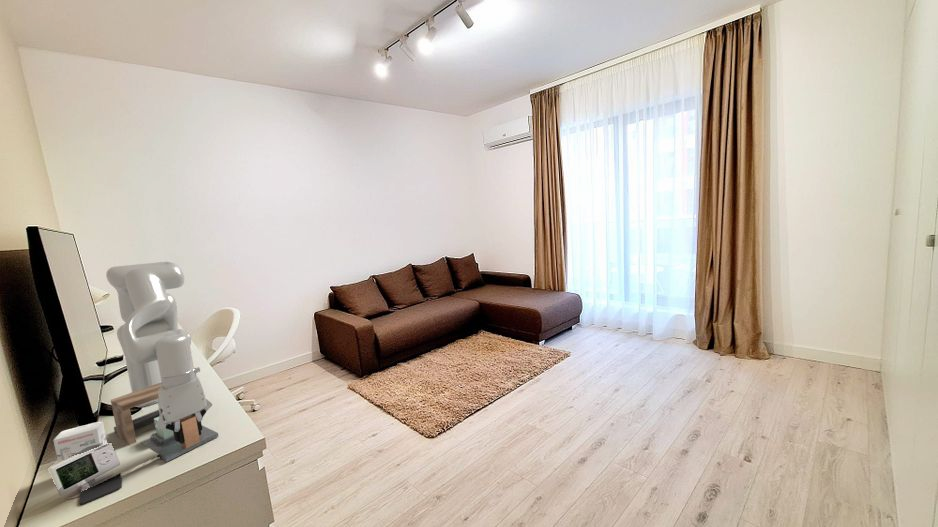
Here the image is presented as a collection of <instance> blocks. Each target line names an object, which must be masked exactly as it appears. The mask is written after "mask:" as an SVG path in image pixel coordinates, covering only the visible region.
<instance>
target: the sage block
mask: <svg viewBox="0 0 938 527" xmlns="http://www.w3.org/2000/svg"><path fill="white" fill-rule="evenodd" d="M159 417H160V416H159ZM159 417H157V418H154V422H153V424H154V427H155V426H156V424H157V422H158V419H159ZM164 423H165V424H167V422H166V420H165V422H164ZM168 424H171V423H168ZM154 429H155V433H156V434H157V436H159V437H160V438H162V439H167V438H169V437H171V436H173V435H174V433H173V431H172V430H169V429H157V428H156V427H155V428H154Z"/></svg>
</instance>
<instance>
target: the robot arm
mask: <svg viewBox="0 0 938 527" xmlns="http://www.w3.org/2000/svg"><path fill="white" fill-rule="evenodd" d="M105 276H106V280H107V281H108V283H109V285H111V286H112V287H113V288H114V289H115V290H116V293H117V296H118V305H119V306H118V307H119V313H120V316H121V320H122V321H124V324H123V325H121V326H119V327H118V329H116V330H117V331H116V336H117V339H118V342H119V344H120V348H121V349H122V353H123V355H124V360H125V364H126V369H127V375H128V379H129V380H128V381H129V385H130V389H131V393H132V392H135V391H138V390H141V389H144V388H147V387H150V386H153V385H156V384H159V383H161V382H162V387H160V388H159V391H158V398H157V399H155V400H152V401H149V402H146V403H144V404H141V405H138V406H136V407H138V408H144V407H147V406H152V405H154V404H157V403H158V410H159V415H160V417H159V419H158V422H157V424H156V426H155V425H154V427H156V428H157V429H169V430H172V431H173V433H174V438H175V441H176V442H177V441H178V442H179V443H181V444H182V443H184V442H185V441H184V436H183V431H182V430H181V429H180V419H182V418H185V417H187V416H189V415H194V416H196V421H197V426H198V432H199V435H201V430H202V426H203V424H202V420H203V419H204V418H203V417H205V415H206V414H207V411H208V410H210V409H211V408H212V407H213V403H212V402H211V401H210V400H208V399H207V398H206V394H205V391H204V388H203V384H202V382H201V380H200V378H199V377H198V376H197V374H198V373H200V372H201V368H200V367H199V366H198V367H194V366H195V365H194V360H193V356H192V349H191V345H192V340H191V335H190V333H189V332H187V331H186V330H184V329H181V328H180V329H178V328H179V327H178V326H179V324H178V323H179V322H178V305H177V301H176V298H175V297H174V295H172V294H171V293H169V292H167V291H166V290H173V289H179V288H181V287H182V286H184V284H185V275H184V273H183V270H182V268H180V266H179V265H177V264H176V263H173V262H170V261H160V262H159V261H158V262H150V263H149V262H148V263H139V264H129V265H128V264H126V265H117V266H112V267H110V268H108V269H107V271H106V275H105ZM165 420H166V422H167V424H165V423H164V422H165ZM168 423H171V424H168Z"/></svg>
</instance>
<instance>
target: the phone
mask: <svg viewBox="0 0 938 527" xmlns="http://www.w3.org/2000/svg"><path fill="white" fill-rule="evenodd" d="M121 474H122V473H121V472H120V473H118V474H115V475H113V476H112V477H110V478H108V479H105V480H103V481H101V482H99V483H97V484H95V485H91V486H92V487H90V488H88V489H87V490H84V491H82V492H80V491H79V497H78V498H79V501H78V503H79V506H85V505H87V504H88V505H89V503H92V502H94V501H96V500H100V499H101V498H104V497H106V496H108V495H111V494H113V493H116V492H118V491H120V490H121V489H122V487H123V485H122V484H123V483H122V482H123V481H122V475H121Z"/></svg>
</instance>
